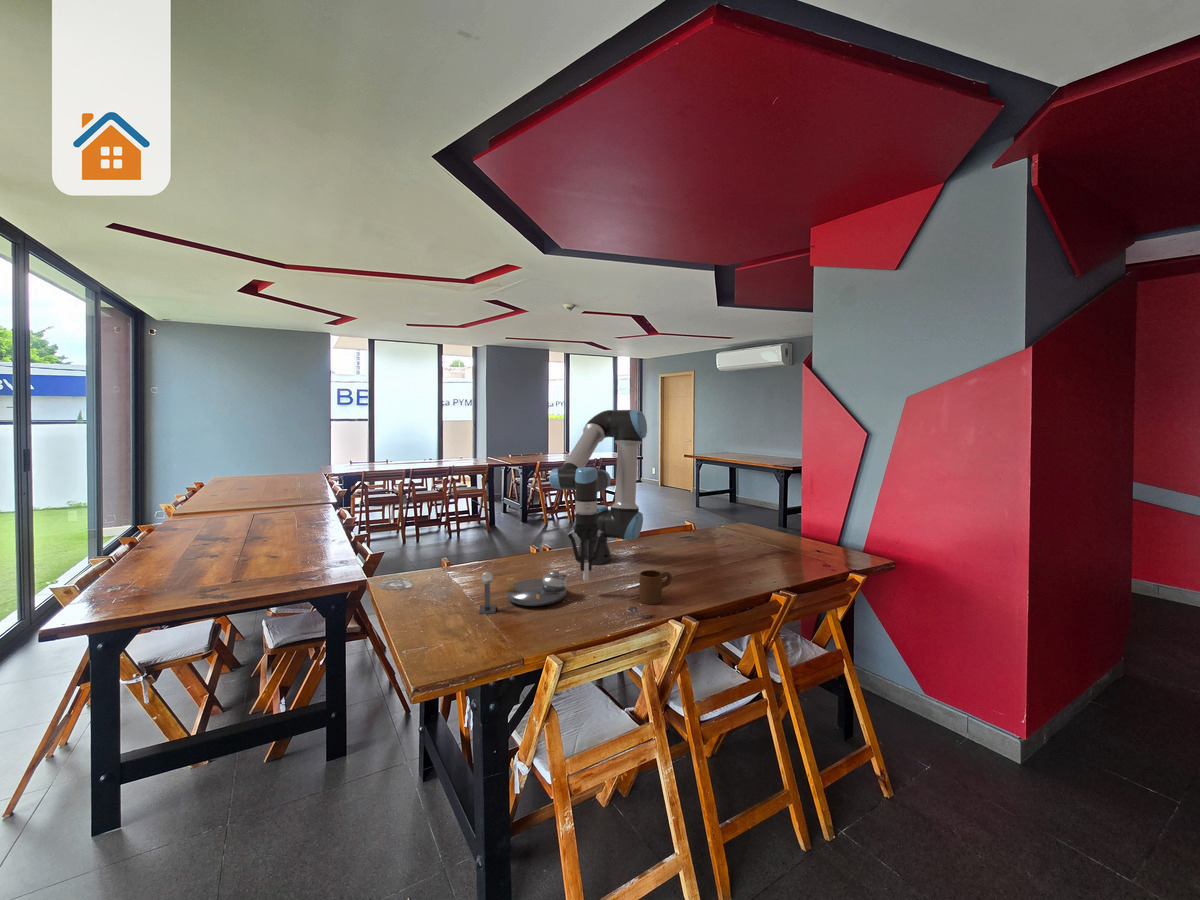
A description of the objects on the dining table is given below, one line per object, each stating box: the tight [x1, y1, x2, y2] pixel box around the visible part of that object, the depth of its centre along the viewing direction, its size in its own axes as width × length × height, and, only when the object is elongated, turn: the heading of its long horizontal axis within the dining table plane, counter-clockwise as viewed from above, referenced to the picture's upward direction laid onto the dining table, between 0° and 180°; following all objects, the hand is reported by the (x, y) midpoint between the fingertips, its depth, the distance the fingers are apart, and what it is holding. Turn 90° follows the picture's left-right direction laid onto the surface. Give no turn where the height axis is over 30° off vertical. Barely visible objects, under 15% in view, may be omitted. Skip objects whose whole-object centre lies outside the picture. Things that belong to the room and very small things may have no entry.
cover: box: [542, 570, 567, 592], centre depth 168 cm, size 8×8×6 cm
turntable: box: [505, 576, 567, 607], centre depth 168 cm, size 20×20×6 cm
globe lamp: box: [478, 571, 497, 615], centre depth 157 cm, size 5×5×13 cm
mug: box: [638, 569, 673, 605], centre depth 166 cm, size 12×8×9 cm, turn 114°
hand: (585, 579), depth 170 cm, fingers closed
